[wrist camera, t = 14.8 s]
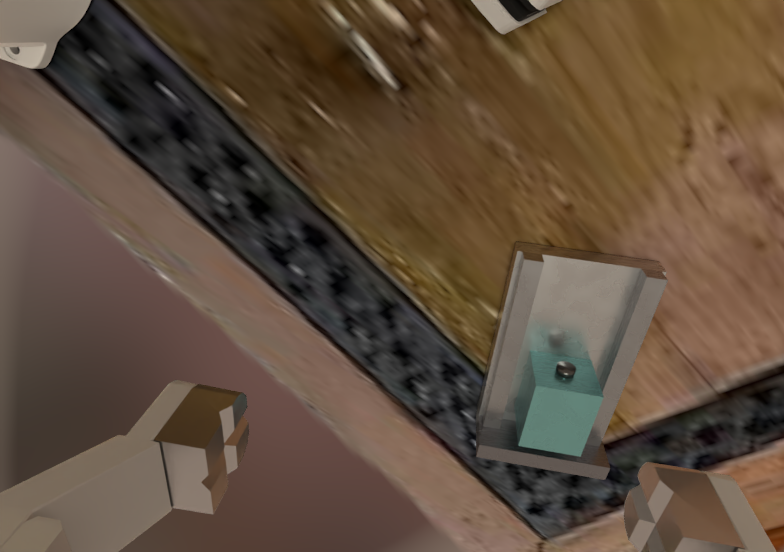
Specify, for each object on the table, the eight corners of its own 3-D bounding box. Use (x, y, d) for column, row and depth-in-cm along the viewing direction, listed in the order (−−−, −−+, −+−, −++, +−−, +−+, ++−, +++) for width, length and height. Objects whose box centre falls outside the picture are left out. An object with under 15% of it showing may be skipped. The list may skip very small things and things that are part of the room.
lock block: (514, 407, 49) (518, 445, 44) (531, 344, 45) (537, 380, 41) (570, 416, 48) (580, 456, 44) (592, 354, 44) (606, 391, 40)
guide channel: (476, 412, 52) (476, 456, 47) (515, 241, 43) (521, 272, 37) (591, 432, 51) (604, 479, 46) (658, 261, 42) (685, 296, 36)
